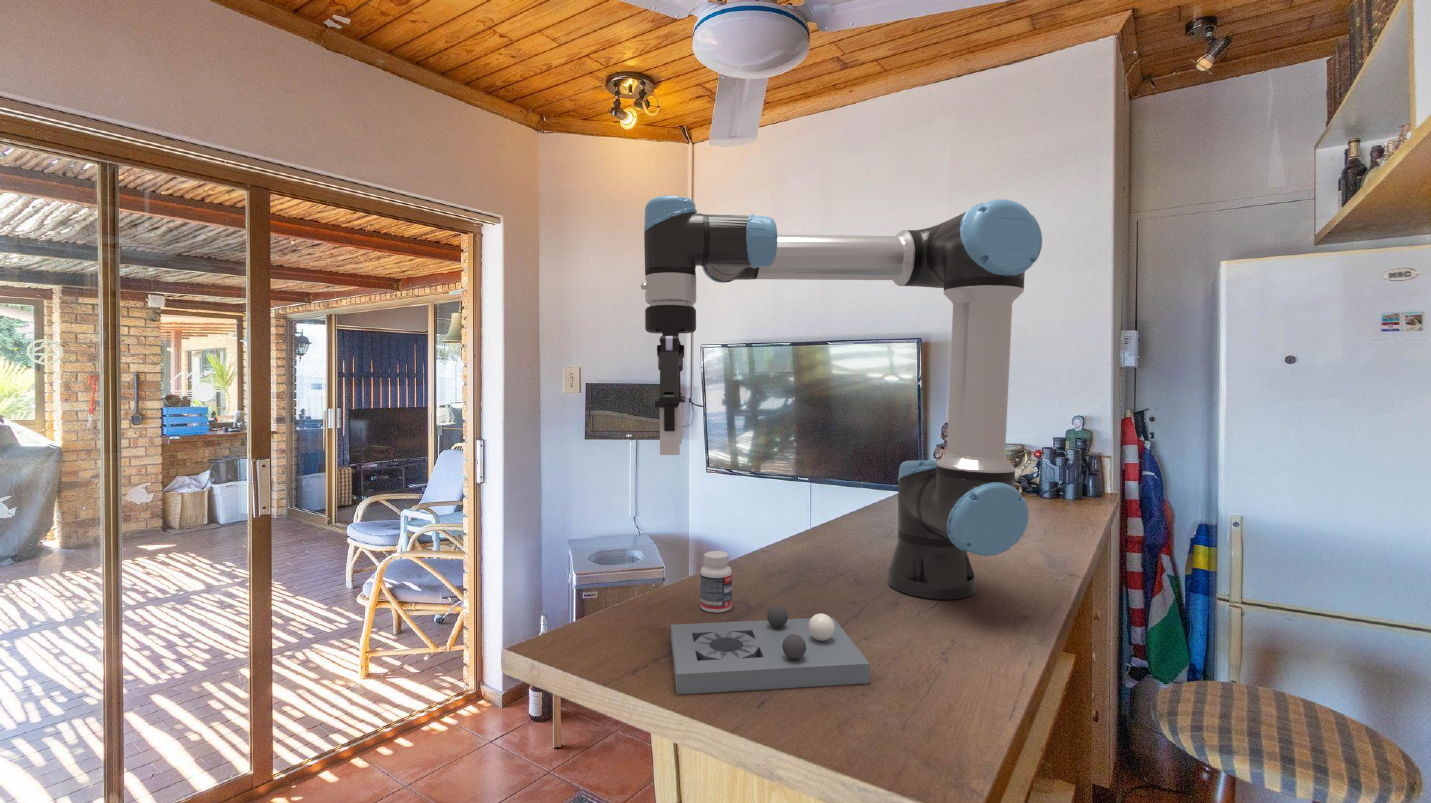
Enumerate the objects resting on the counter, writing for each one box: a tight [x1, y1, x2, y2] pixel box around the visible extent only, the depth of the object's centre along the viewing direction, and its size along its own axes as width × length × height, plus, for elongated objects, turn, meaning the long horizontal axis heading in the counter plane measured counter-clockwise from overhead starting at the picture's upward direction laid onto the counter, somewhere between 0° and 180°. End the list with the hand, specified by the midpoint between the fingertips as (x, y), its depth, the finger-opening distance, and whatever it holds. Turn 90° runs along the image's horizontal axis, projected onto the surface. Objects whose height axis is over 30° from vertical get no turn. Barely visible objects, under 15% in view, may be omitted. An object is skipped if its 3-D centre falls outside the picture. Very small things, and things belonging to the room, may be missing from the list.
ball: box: [808, 613, 835, 641], centre depth 85 cm, size 4×4×4 cm
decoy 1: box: [766, 604, 789, 628], centre depth 89 cm, size 3×3×3 cm
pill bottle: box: [699, 550, 733, 614], centre depth 103 cm, size 5×5×9 cm
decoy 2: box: [782, 634, 806, 660], centre depth 79 cm, size 3×3×3 cm
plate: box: [670, 616, 871, 695], centre depth 84 cm, size 24×15×2 cm, turn 97°
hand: (671, 449), depth 93 cm, fingers open, 13 cm apart
